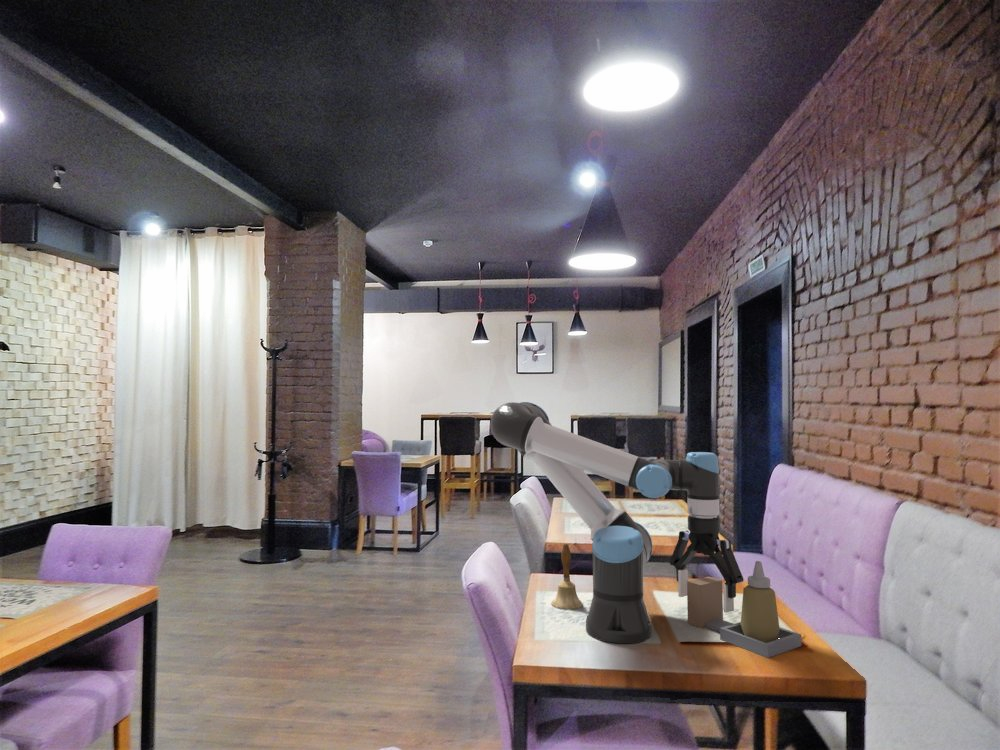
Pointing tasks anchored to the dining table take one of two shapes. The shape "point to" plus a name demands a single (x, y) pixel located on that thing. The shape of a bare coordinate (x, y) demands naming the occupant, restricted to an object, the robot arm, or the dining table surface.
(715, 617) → the grey tray with block
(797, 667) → the dining table surface
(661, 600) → the dining table surface
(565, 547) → the hand bell
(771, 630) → the squeeze bottle
